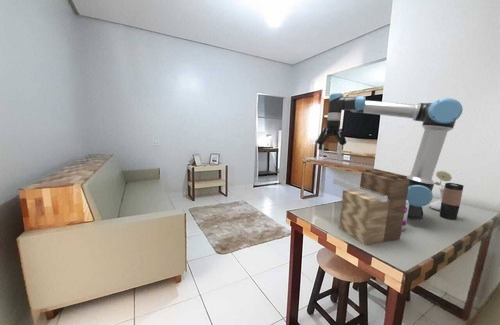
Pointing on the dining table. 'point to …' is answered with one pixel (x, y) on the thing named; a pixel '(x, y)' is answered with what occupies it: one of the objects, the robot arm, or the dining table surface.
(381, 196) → the clear long thin bar
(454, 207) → the travel mug
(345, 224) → the walnut stand
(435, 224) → the dining table surface
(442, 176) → the flower in vase
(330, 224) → the dining table surface
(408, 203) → the supplement can
